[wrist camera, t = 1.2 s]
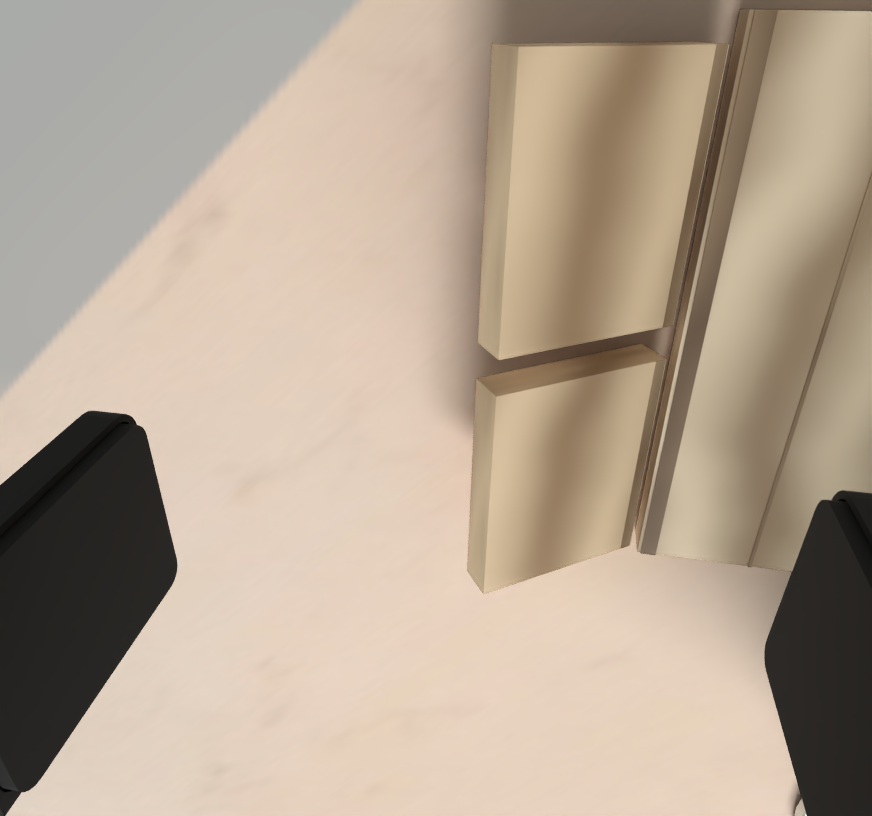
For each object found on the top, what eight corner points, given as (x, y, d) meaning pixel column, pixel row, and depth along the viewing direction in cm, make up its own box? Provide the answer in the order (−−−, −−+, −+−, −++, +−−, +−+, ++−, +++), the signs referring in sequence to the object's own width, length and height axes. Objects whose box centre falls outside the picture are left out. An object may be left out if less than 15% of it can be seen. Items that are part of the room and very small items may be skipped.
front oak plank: (694, 41, 24) (729, 44, 23) (647, 311, 29) (673, 325, 28) (491, 43, 21) (519, 46, 20) (477, 342, 26) (498, 360, 25)
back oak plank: (641, 343, 30) (667, 359, 29) (609, 525, 35) (629, 545, 34) (476, 378, 27) (496, 396, 26) (466, 571, 32) (483, 594, 31)
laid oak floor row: (1067, 14, 22) (1099, 14, 21) (846, 556, 34) (857, 581, 33) (740, 9, 24) (750, 9, 22) (635, 530, 35) (637, 552, 34)
